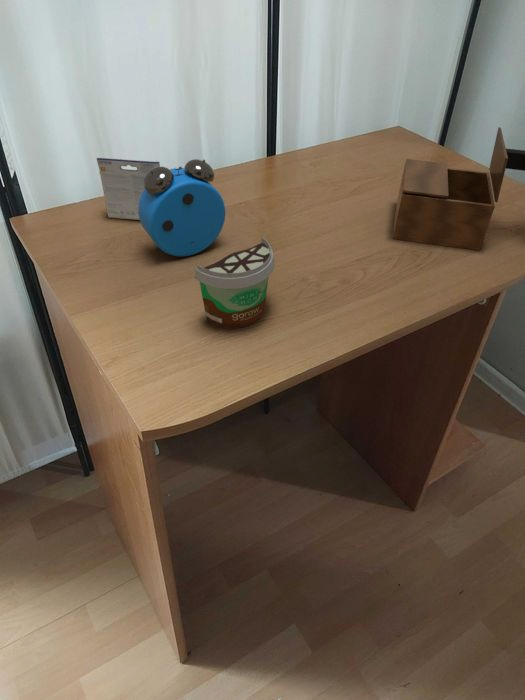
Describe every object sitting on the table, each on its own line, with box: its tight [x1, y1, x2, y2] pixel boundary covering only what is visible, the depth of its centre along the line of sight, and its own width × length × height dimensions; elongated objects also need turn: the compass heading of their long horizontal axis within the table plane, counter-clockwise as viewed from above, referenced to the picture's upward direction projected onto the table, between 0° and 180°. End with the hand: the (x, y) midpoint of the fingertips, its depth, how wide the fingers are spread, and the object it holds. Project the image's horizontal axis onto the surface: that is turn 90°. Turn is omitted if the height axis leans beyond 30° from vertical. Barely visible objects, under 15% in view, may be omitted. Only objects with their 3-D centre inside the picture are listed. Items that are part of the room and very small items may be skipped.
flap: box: [488, 127, 508, 203], centre depth 89 cm, size 7×13×1 cm
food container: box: [194, 236, 276, 329], centre depth 75 cm, size 12×6×10 cm, turn 129°
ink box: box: [96, 157, 161, 221], centre depth 95 cm, size 12×2×12 cm, turn 82°
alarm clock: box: [139, 158, 226, 257], centre depth 87 cm, size 13×6×15 cm, turn 119°
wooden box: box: [392, 158, 496, 251], centre depth 96 cm, size 15×13×9 cm
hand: (502, 158), depth 88 cm, fingers closed
